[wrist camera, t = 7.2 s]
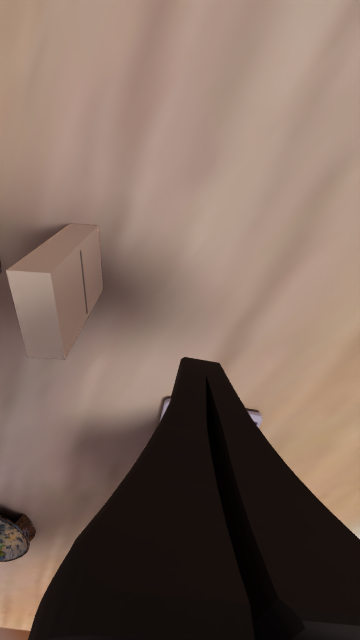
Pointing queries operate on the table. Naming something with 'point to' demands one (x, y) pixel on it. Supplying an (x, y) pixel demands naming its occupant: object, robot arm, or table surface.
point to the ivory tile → (57, 290)
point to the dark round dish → (15, 538)
